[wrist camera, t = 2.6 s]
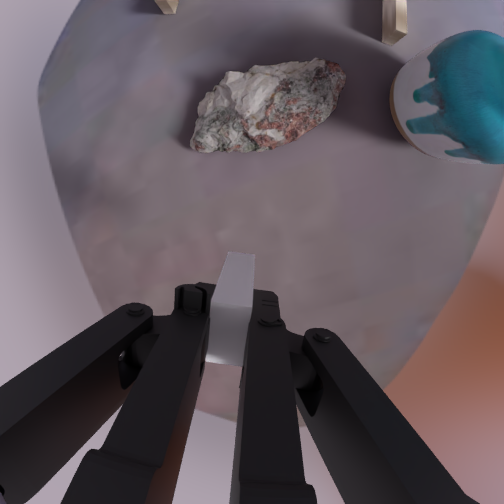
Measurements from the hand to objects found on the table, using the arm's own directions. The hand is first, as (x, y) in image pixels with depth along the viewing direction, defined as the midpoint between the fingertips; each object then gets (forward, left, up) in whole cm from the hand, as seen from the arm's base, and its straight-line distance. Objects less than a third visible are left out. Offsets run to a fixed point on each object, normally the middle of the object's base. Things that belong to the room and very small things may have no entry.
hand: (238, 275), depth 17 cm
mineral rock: (-12, 0, -14) cm, 18 cm away
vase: (-15, +16, -14) cm, 26 cm away
